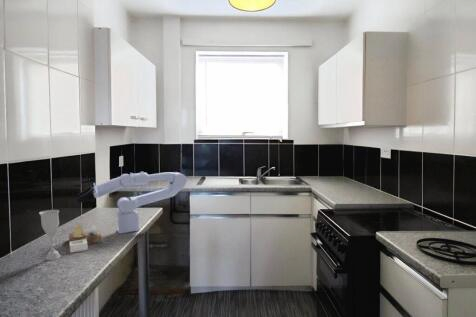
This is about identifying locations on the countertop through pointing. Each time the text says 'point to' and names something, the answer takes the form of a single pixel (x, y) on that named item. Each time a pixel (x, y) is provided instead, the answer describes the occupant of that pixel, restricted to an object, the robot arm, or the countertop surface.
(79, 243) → the white block with hole
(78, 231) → the peg
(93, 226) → the bar
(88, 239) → the socket block
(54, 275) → the countertop surface
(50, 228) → the chalice
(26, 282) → the countertop surface
